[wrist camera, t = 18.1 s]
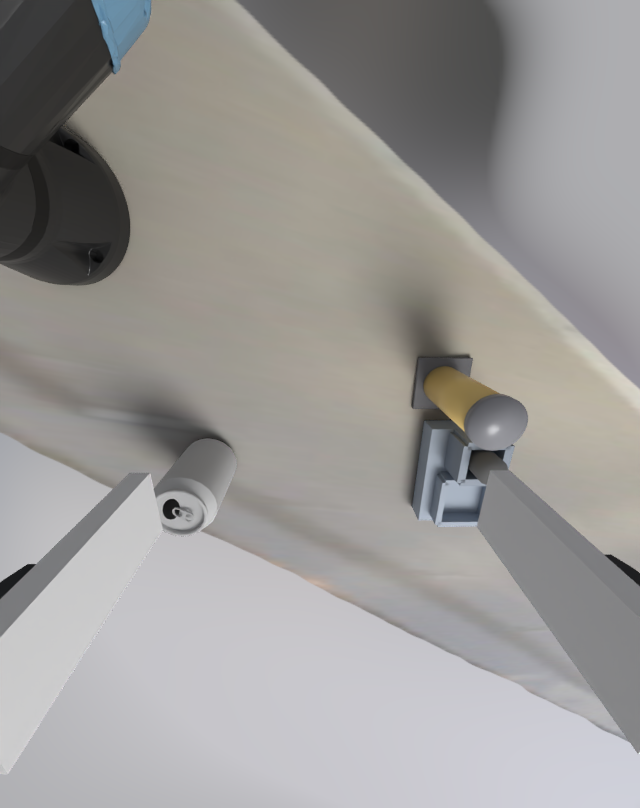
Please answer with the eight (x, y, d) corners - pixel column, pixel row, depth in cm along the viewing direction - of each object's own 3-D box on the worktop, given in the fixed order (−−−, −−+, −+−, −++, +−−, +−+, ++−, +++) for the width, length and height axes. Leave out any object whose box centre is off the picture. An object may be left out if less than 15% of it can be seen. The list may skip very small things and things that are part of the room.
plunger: (460, 439, 39) (480, 459, 35) (487, 439, 39) (511, 459, 35) (456, 463, 40) (474, 485, 36) (482, 463, 41) (504, 485, 36)
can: (192, 428, 42) (147, 478, 31) (244, 444, 43) (219, 497, 32) (182, 472, 44) (137, 533, 33) (231, 485, 45) (204, 549, 34)
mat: (418, 357, 39) (419, 358, 38) (470, 357, 39) (472, 358, 39) (411, 407, 41) (413, 408, 41) (461, 407, 42) (463, 408, 41)
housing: (424, 419, 42) (445, 442, 36) (500, 419, 42) (535, 442, 36) (412, 506, 47) (428, 541, 41) (480, 506, 48) (506, 540, 41)
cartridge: (424, 364, 39) (475, 397, 27) (465, 364, 39) (534, 397, 27) (419, 403, 41) (464, 450, 28) (458, 403, 41) (519, 450, 29)
